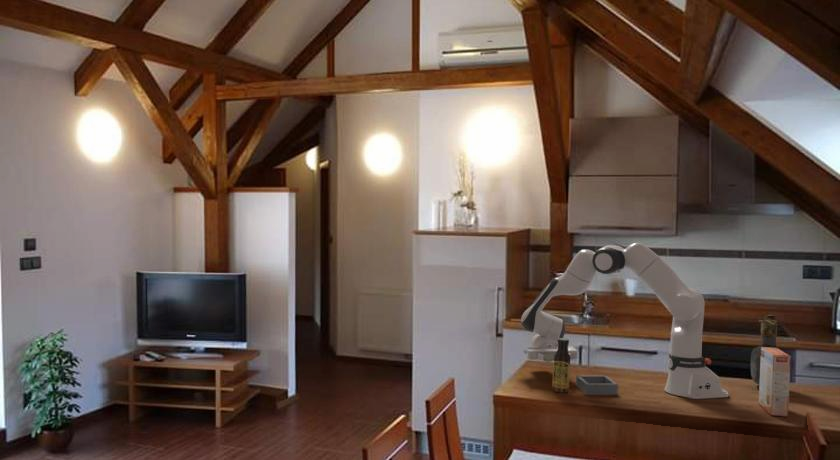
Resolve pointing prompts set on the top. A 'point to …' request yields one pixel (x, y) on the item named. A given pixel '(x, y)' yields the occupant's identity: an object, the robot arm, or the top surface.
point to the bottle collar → (597, 385)
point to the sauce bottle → (561, 367)
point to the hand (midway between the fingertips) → (556, 358)
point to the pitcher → (764, 344)
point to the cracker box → (774, 381)
